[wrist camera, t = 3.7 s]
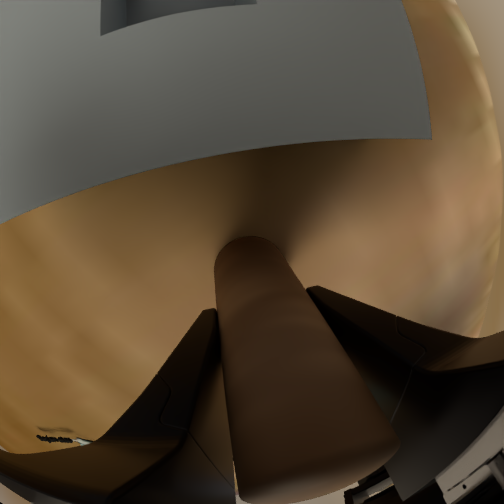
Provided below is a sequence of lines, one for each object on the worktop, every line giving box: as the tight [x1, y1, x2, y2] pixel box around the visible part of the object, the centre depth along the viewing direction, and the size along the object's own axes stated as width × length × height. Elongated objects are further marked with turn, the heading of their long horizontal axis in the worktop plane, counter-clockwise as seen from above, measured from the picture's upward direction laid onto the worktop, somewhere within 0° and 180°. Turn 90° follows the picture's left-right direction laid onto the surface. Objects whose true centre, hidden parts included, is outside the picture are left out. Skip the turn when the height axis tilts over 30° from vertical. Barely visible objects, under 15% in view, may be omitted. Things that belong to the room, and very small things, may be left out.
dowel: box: [214, 236, 401, 504], centre depth 7 cm, size 3×3×9 cm
